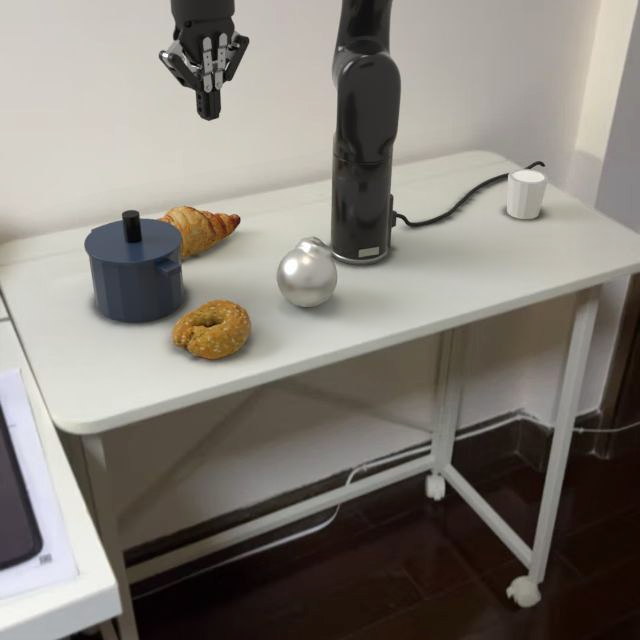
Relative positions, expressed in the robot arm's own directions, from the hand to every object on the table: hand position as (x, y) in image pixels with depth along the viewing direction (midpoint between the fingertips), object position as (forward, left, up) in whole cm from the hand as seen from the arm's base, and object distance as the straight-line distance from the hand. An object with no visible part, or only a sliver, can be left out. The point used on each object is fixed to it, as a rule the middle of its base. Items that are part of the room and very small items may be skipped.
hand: (209, 118), depth 110 cm
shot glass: (-60, +13, -29) cm, 68 cm away
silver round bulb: (-11, +7, -29) cm, 32 cm away
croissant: (-9, -20, -29) cm, 37 cm away
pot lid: (+6, -11, -20) cm, 23 cm away
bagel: (+6, +5, -29) cm, 30 cm away
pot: (+6, -11, -29) cm, 32 cm away
